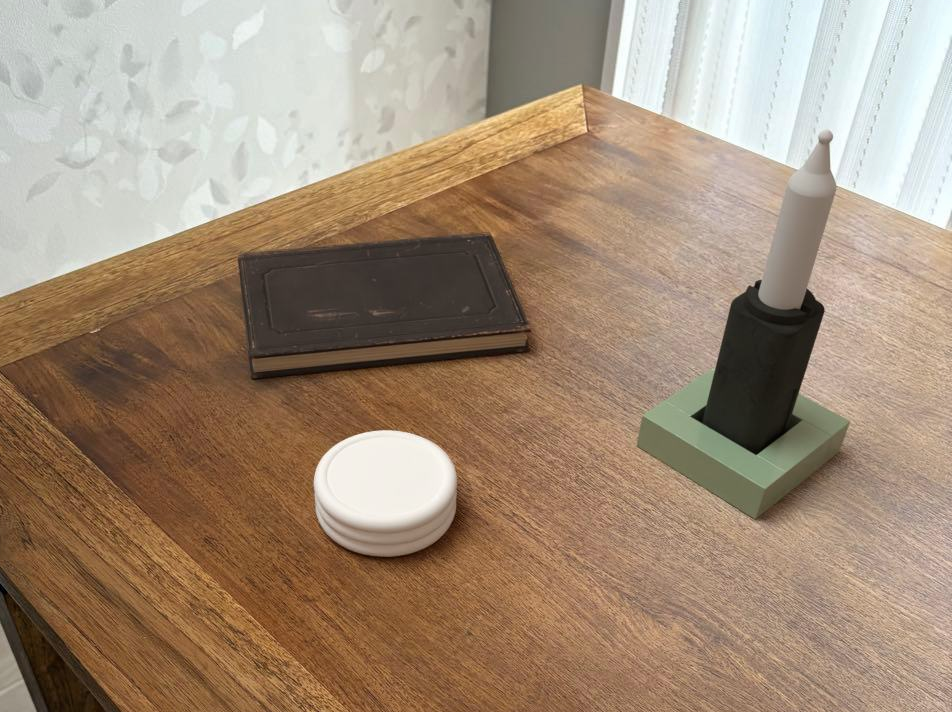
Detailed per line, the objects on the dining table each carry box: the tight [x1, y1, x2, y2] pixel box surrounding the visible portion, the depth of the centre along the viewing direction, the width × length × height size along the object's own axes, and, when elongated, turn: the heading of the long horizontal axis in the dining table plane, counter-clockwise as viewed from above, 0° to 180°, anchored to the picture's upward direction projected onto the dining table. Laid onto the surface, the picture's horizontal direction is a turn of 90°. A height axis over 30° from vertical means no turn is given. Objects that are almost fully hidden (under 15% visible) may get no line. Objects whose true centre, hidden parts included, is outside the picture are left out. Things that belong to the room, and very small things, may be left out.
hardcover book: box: [236, 231, 532, 380], centre depth 96 cm, size 16×23×2 cm
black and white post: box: [702, 129, 837, 455], centre depth 75 cm, size 5×5×25 cm
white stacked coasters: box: [312, 429, 458, 558], centre depth 78 cm, size 10×10×4 cm
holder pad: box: [636, 365, 851, 520], centre depth 83 cm, size 11×11×3 cm
